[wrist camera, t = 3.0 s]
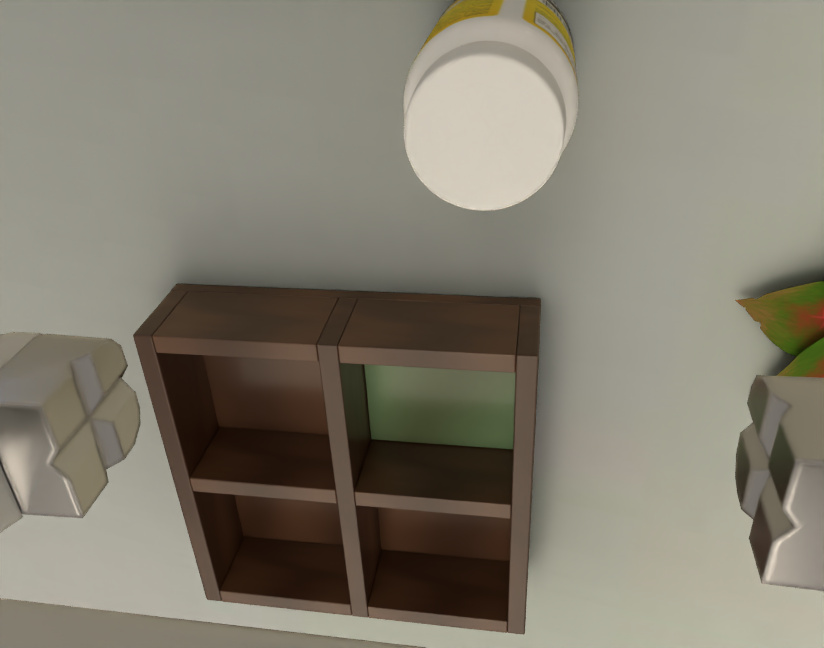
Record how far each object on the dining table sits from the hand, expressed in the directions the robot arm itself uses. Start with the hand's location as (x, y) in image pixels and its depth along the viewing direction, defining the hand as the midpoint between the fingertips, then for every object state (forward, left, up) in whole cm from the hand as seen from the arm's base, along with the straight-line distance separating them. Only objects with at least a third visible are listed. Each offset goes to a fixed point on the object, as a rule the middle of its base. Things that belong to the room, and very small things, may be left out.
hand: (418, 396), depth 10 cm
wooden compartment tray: (-6, -17, -19) cm, 26 cm away
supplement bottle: (0, 0, -19) cm, 19 cm away
